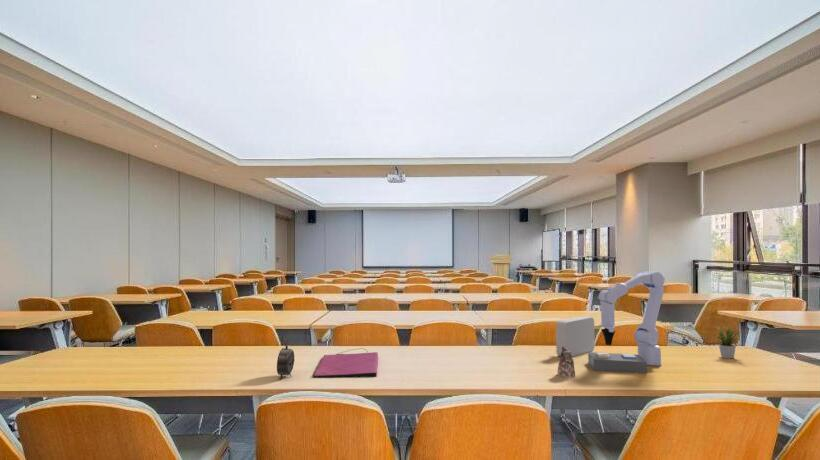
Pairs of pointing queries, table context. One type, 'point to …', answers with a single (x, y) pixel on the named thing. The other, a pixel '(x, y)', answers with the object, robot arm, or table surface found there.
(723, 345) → the house plant
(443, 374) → the table surface
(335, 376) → the laptop bag
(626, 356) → the slate blue key
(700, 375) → the table surface
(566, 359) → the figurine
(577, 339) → the rounded white slab
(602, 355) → the ivory key
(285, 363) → the alarm clock
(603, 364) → the key deck
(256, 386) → the table surface
